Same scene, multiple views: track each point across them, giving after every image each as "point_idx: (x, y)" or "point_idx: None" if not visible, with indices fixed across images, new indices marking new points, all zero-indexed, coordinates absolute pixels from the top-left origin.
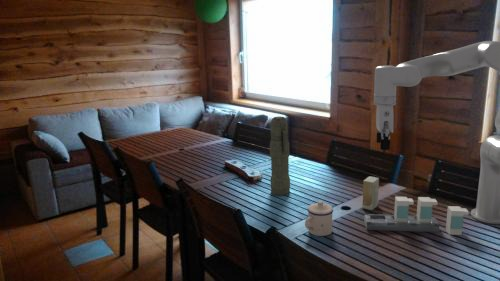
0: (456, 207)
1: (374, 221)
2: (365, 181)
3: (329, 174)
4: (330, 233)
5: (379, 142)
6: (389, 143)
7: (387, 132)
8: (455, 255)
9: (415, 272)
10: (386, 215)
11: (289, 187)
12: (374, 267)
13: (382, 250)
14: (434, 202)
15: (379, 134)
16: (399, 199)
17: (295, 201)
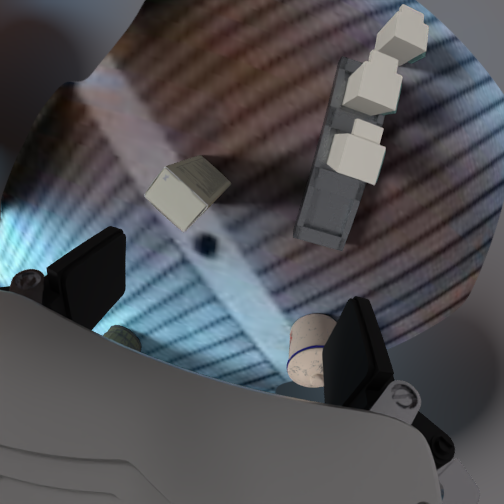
0: (404, 22)
1: (328, 221)
2: (189, 226)
3: (35, 218)
4: (334, 320)
5: (124, 275)
6: (378, 339)
7: (457, 482)
8: (471, 121)
9: (488, 228)
10: (316, 181)
11: (122, 337)
12: (456, 284)
13: (424, 248)
14: (396, 68)
15: (83, 321)
16: (365, 171)
17: (166, 332)
